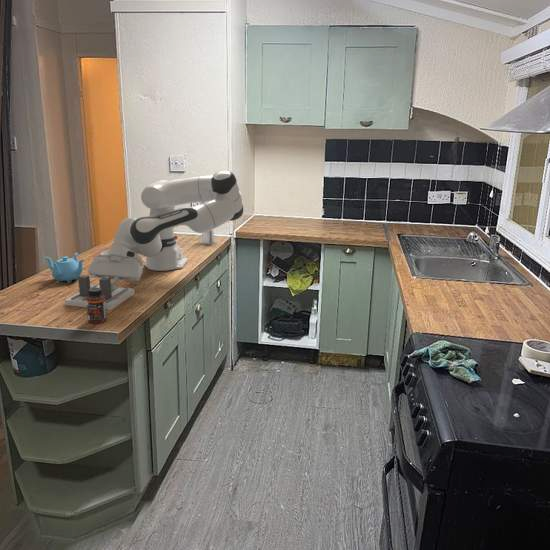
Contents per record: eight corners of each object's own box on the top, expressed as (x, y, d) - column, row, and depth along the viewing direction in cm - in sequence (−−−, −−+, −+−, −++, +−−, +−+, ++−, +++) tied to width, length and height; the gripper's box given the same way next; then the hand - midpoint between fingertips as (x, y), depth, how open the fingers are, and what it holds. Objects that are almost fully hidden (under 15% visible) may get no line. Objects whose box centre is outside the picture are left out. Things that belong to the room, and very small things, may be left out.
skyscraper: (197, 244, 274) (196, 193, 266) (203, 241, 282) (202, 191, 273) (211, 245, 272) (210, 194, 264) (217, 242, 279) (217, 192, 271)
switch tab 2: (104, 296, 186) (102, 277, 184) (111, 297, 185) (110, 278, 183) (100, 299, 183) (99, 279, 181) (108, 299, 183) (106, 280, 181)
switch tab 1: (83, 294, 188) (81, 275, 186) (91, 294, 188) (89, 275, 185) (79, 296, 186) (77, 276, 184) (87, 296, 185) (85, 277, 183)
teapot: (86, 282, 208) (84, 258, 205) (52, 287, 202) (50, 263, 199) (79, 274, 219) (77, 251, 216) (47, 278, 212) (44, 255, 209)
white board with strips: (93, 289, 200) (92, 283, 199) (134, 293, 196) (134, 287, 195) (65, 305, 183) (64, 298, 182) (110, 309, 179) (109, 303, 178)
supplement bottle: (87, 324, 166) (84, 292, 163) (88, 318, 172) (85, 286, 168) (106, 323, 168) (103, 291, 164) (107, 316, 173) (104, 285, 170)
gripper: (91, 250, 190) (79, 282, 184) (141, 254, 186) (130, 287, 180) (99, 258, 196) (87, 290, 190) (147, 262, 192) (137, 294, 186)
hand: (108, 288), depth 185 cm, fingers closed, pressing on switch tab 2
